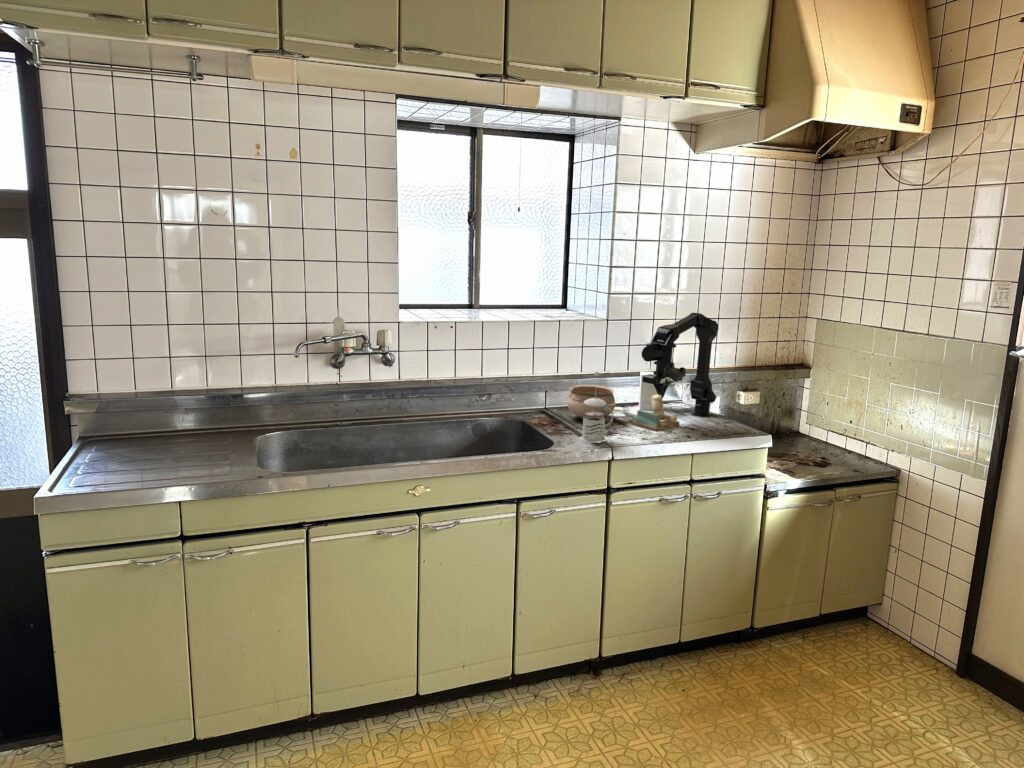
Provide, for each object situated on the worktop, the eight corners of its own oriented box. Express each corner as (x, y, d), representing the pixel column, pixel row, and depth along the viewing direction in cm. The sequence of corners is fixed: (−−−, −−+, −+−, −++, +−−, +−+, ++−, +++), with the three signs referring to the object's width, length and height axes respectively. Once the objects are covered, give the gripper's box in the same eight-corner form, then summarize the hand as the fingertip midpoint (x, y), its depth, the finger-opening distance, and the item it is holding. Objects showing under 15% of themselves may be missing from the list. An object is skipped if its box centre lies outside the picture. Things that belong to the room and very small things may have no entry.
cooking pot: (551, 415, 287) (552, 386, 284) (584, 409, 299) (586, 381, 296) (596, 430, 268) (598, 398, 266) (629, 422, 280) (632, 392, 277)
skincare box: (657, 407, 307) (660, 371, 303) (658, 411, 300) (661, 374, 297) (637, 406, 308) (640, 370, 304) (638, 409, 301) (641, 373, 298)
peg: (658, 416, 282) (655, 393, 278) (666, 418, 279) (663, 395, 275) (652, 420, 280) (649, 398, 275) (660, 422, 277) (657, 400, 273)
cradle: (656, 418, 287) (657, 405, 286) (679, 424, 279) (680, 410, 278) (632, 424, 277) (633, 410, 276) (655, 431, 269) (656, 416, 268)
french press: (577, 435, 260) (580, 368, 255) (608, 436, 261) (612, 369, 256) (581, 443, 251) (585, 374, 245) (614, 443, 251) (618, 374, 246)
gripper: (667, 365, 262) (664, 406, 266) (695, 360, 275) (692, 399, 278) (643, 360, 270) (640, 400, 274) (671, 356, 283) (668, 394, 286)
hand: (661, 398), depth 278 cm, fingers closed
